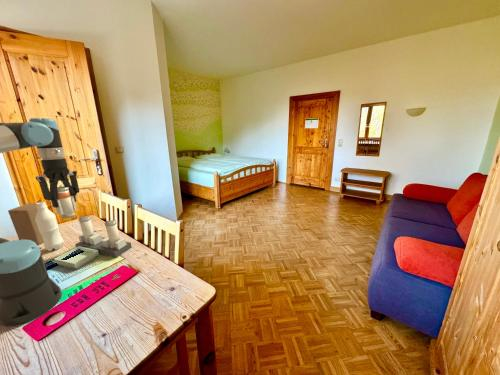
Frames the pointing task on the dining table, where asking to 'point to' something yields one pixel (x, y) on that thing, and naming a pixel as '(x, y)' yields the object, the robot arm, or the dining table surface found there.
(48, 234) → the water bottle
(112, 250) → the block
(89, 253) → the tray
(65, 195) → the marked fuse
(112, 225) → the cylinder
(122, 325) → the dining table surface
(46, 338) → the dining table surface
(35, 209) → the wooden block
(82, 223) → the fuse far
